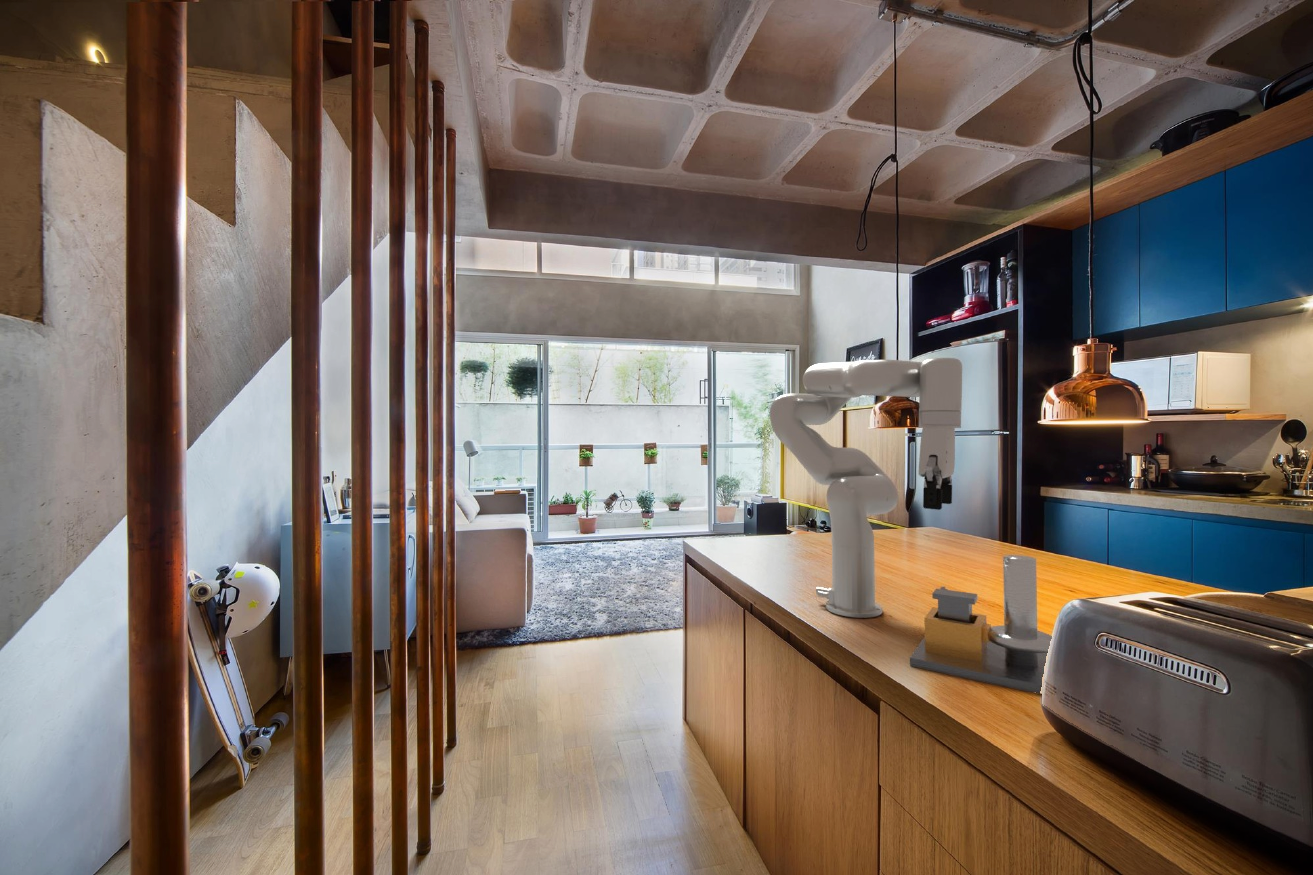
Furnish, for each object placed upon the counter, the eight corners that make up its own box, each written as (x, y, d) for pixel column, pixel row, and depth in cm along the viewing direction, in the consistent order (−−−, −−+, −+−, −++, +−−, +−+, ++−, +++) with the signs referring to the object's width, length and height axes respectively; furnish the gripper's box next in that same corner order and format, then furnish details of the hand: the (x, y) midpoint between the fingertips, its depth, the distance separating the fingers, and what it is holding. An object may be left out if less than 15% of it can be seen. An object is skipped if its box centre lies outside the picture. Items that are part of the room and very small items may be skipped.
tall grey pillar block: (933, 648, 101) (932, 593, 102) (937, 641, 105) (936, 588, 105) (975, 656, 97) (974, 599, 97) (978, 649, 101) (977, 593, 101)
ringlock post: (910, 666, 97) (908, 556, 97) (929, 636, 112) (928, 540, 112) (1056, 697, 85) (1054, 571, 85) (1057, 660, 99) (1055, 552, 99)
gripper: (929, 420, 118) (927, 499, 119) (908, 420, 105) (906, 509, 105) (968, 421, 114) (966, 503, 114) (952, 420, 100) (950, 513, 101)
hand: (937, 505), depth 110 cm, fingers open, 9 cm apart
